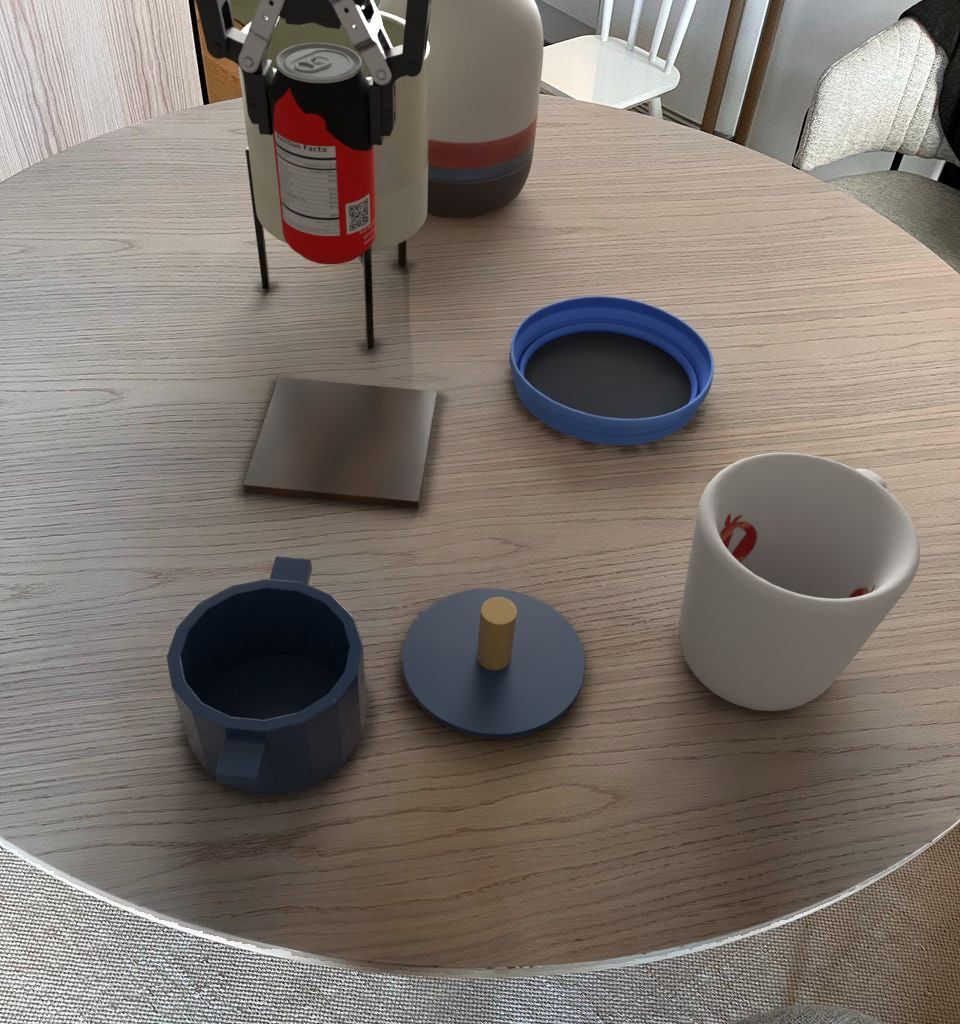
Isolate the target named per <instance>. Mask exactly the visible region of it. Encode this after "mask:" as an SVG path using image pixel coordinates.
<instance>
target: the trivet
mask: <svg viewBox="0 0 960 1024" xmlns="http://www.w3.org/2000/svg"><path fill="white" fill-rule="evenodd" d="M437 400H438V391H437V390H427V389H417V388H416V389H415V388H405V387H396V386H395V387H394V386H385V385H373V384H363V383H351V382H344V381H343V382H342V381H331V380H321V379H311V378H302V377H301V378H299V377H291V376H290V377H289V376H281V375H280V376H278V377H277V379H276V383H275V386H274V388H273V391H272V395H271V398H270V401H269V404H268V408H267V410H266V413H265V417H264V420H263V423H262V425H261V428H260V431H259V435H258V437H257V441H256V444H255V446H254V450H253V453H252V455H251V460H250V462H249V465H248V469H247V471H246V475H245V478H244V479H243V483H242V488H243V492H244V493H250V494H251V493H252V494H259V495H271V496H279V497H281V496H282V497H293V498H302V499H314V500H323V501H332V502H333V501H334V502H343V503H344V502H345V503H353V504H364V505H375V506H386V507H394V508H395V507H396V508H404V509H405V508H406V509H416V510H417V509H418V510H419V508H420V503H421V497H422V491H423V485H424V479H425V474H426V473H425V472H426V466H427V461H428V454H429V448H430V444H431V437H432V432H433V425H434V419H435V413H436V408H437Z"/></svg>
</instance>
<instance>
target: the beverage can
mask: <svg viewBox="0 0 960 1024" xmlns="http://www.w3.org/2000/svg"><path fill="white" fill-rule="evenodd" d="M276 66H277V71H276V73H275V75H274V77H273V80H272V82H271V84H270V88H269V100H270V110H271V120H272V130H273V140H274V150H275V160H276V170H277V179H278V189H279V199H280V209H281V219H282V229H283V235H284V238H285V240H286V242H287V243H286V244H287V245H288V246H289V248H290V249H291V250H292V251H295V253H297V254H299V255H300V256H301V257H302V258H304V259H306V260H307V261H309V262H313V263H316V264H321V265H341V264H345V263H349V262H352V261H354V260H356V259H357V258H358V257H359V256H360V255H361V254H362V253H364V252H365V251H366V250H367V249H368V248H369V247H370V246H371V245H372V243H373V242H374V239H375V236H376V202H375V161H374V145H372V144H371V142H370V111H369V82H368V80H367V78H366V76H365V75H364V73H363V71H362V59H361V58H360V56H359V55H358V54H357V53H356V52H354V51H353V50H351V49H349V48H346V47H343V46H340V45H335V44H329V43H305V44H299V45H295V46H292V47H289V48H287V49H285V50H283V51H282V52H280V53H279V55H278V56H277V58H276Z"/></svg>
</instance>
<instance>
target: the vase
mask: <svg viewBox="0 0 960 1024" xmlns="http://www.w3.org/2000/svg"><path fill="white" fill-rule="evenodd" d="M406 9H407V0H379V4H378V6H377V10H378V11H381V12H385V13H388V14H391V15H394V16H397V17H399V18H401V19H404V20H405V19H406ZM544 39H545V38H544V28H543V23H542V18H541V14H540V11H539V8H538V5H537V3H536V1H535V0H432V4H431V13H430V22H429V31H428V42H429V45H430V80H429V141H428V201H427V216H432V217H436V218H444V219H456V220H457V219H458V220H459V219H472V218H479V217H480V218H481V217H483V216H488V215H490V214H493V213H495V212H498V211H500V210H502V209H504V208H505V207H507V206H509V205H510V204H511V203H512V202H513V201H514V200H515V199H516V198H517V197H518V196H519V194H520V193H521V192H522V190H523V188H524V186H525V185H526V182H527V180H528V177H529V175H530V172H531V168H532V164H533V160H534V159H533V158H534V151H535V143H536V133H537V123H538V116H539V115H538V113H539V105H540V104H539V103H540V93H541V83H542V75H543V63H544V42H545V41H544Z"/></svg>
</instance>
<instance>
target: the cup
mask: <svg viewBox="0 0 960 1024" xmlns="http://www.w3.org/2000/svg"><path fill="white" fill-rule="evenodd" d="M920 545H921V544H920V538H919V535H918V532H917V528H916V526H915V524H914V523H913V521H912V518H911V517H910V515H909V513H908V511H907V510H906V509H905V507H904V506H903V505H902V504H901V503H900V502H899V500H898V499H897V498H896V497H895V496H894V495H893V494H892V493H891V492H889V491H888V489H887V483H886V481H885V480H884V478H883V477H882V476H880V475H878V474H876V472H873V471H871V470H869V469H867V468H862V467H861V468H853V467H851V466H848V465H847V464H844V463H842V462H839V461H836V460H832V459H829V458H827V457H826V458H825V457H822V456H819V455H813V454H807V453H800V452H787V451H786V452H784V451H782V452H780V451H779V452H767V453H761V454H756V455H752V456H748V457H745V458H743V459H740V460H737V461H735V462H732V463H731V464H729V465H728V466H726V467H725V468H723V469H722V470H721V471H719V472H718V473H717V474H716V475H715V476H714V477H713V478H712V479H711V480H710V482H709V483H708V484H707V485H706V487H705V489H704V490H703V492H702V495H701V496H700V500H699V503H698V507H697V512H696V517H695V523H694V529H693V535H692V541H691V547H690V554H689V559H688V563H687V571H686V576H685V583H684V588H683V594H682V600H681V604H680V605H681V606H680V611H679V612H680V613H679V620H678V621H679V623H678V634H679V635H678V636H679V643H680V648H681V651H682V655H683V657H684V660H685V661H686V663H687V665H688V667H689V669H690V670H691V672H692V674H693V675H694V676H695V677H696V679H698V681H699V682H700V683H701V684H703V685H704V686H705V687H706V688H707V689H708V690H709V691H710V692H712V693H713V694H714V695H716V696H718V697H719V698H721V699H722V700H725V701H727V702H728V703H731V704H733V705H736V706H739V707H741V708H742V707H743V708H746V709H749V710H755V711H766V712H778V711H787V710H791V709H794V708H798V707H801V706H804V705H805V704H808V703H810V702H812V701H814V699H816V698H818V697H819V696H820V695H822V694H823V693H825V691H827V690H828V689H829V688H830V687H831V686H832V685H833V683H835V682H836V681H837V679H838V678H839V677H840V676H841V675H842V674H843V672H844V670H845V669H846V668H847V667H848V666H849V664H850V663H851V662H852V660H853V659H854V658H855V657H856V655H857V654H858V653H859V652H860V650H861V649H862V648H863V647H864V645H865V644H866V642H867V641H868V640H869V639H870V638H871V636H872V635H873V633H875V631H876V630H877V628H879V626H880V625H881V623H882V622H883V621H884V619H885V618H886V617H887V616H888V614H890V612H891V610H892V609H893V608H894V607H895V606H896V604H897V603H898V601H900V599H901V598H902V597H903V595H904V594H905V593H906V591H907V590H908V589H909V588H910V586H911V584H912V582H913V581H914V578H915V577H916V575H917V571H918V569H919V565H920V560H921V546H920Z"/></svg>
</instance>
